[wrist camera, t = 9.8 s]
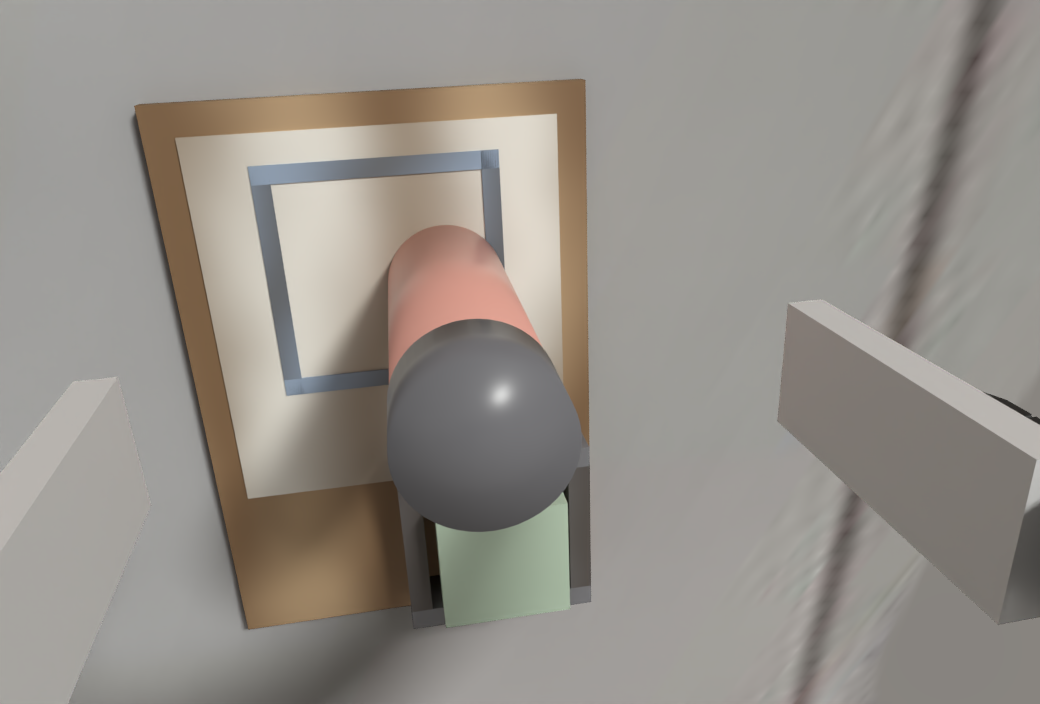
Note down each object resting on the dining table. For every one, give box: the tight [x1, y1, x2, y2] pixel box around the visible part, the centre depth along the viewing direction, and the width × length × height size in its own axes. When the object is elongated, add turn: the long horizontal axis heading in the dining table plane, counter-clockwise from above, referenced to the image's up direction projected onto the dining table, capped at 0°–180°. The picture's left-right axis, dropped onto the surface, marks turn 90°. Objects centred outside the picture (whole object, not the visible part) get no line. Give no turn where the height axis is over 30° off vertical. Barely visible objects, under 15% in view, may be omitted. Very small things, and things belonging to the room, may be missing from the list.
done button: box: [435, 492, 570, 628], centre depth 29 cm, size 5×5×2 cm
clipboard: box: [134, 79, 591, 629], centre depth 28 cm, size 14×20×3 cm
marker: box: [387, 225, 582, 532], centre depth 22 cm, size 4×4×12 cm
